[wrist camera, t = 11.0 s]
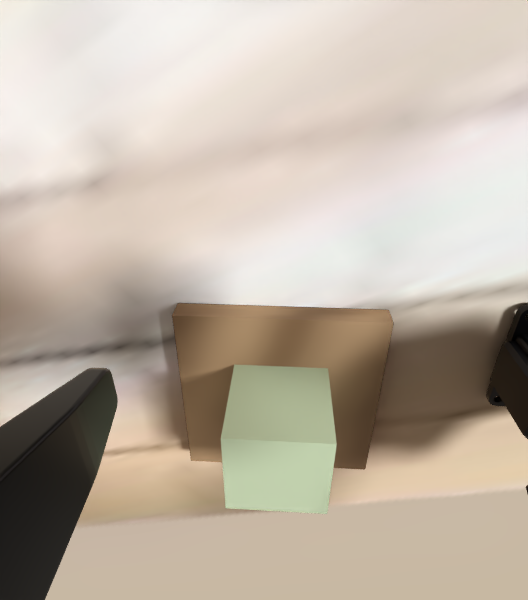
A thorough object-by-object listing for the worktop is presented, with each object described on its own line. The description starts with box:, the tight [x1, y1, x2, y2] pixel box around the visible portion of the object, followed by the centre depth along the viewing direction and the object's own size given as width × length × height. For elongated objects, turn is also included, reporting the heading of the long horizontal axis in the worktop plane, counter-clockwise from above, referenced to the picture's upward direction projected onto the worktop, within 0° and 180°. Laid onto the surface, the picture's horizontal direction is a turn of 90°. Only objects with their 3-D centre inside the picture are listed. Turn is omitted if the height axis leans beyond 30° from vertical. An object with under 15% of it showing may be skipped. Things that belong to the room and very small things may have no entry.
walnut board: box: [172, 303, 393, 469], centre depth 24 cm, size 11×11×1 cm
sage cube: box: [221, 365, 337, 514], centre depth 21 cm, size 5×5×5 cm
